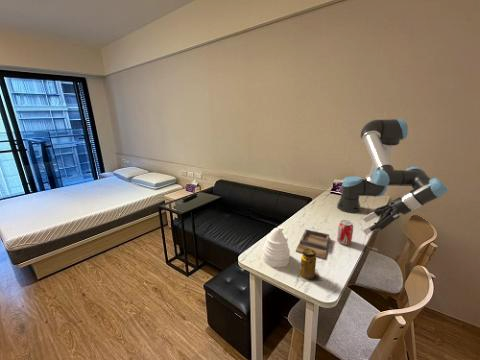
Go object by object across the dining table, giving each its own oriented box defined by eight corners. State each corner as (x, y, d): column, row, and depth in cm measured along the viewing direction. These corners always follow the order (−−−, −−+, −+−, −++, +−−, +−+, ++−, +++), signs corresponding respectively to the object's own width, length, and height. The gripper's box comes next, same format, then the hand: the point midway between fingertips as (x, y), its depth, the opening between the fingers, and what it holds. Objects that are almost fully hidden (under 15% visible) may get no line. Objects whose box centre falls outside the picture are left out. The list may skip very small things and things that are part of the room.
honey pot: (294, 257, 110) (295, 224, 104) (280, 271, 100) (282, 236, 95) (271, 247, 118) (272, 217, 112) (257, 260, 108) (257, 227, 103)
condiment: (297, 269, 101) (299, 246, 98) (316, 269, 101) (318, 246, 98) (301, 281, 94) (303, 257, 91) (322, 281, 94) (324, 257, 91)
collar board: (304, 234, 131) (304, 228, 130) (329, 239, 124) (330, 234, 123) (295, 252, 114) (295, 246, 113) (324, 260, 108) (325, 254, 107)
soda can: (334, 239, 124) (336, 219, 120) (346, 238, 125) (349, 219, 121) (340, 246, 117) (343, 226, 114) (353, 245, 118) (356, 225, 114)
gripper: (417, 221, 90) (370, 244, 102) (408, 200, 111) (369, 221, 123) (404, 207, 91) (358, 231, 103) (397, 188, 112) (359, 210, 124)
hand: (364, 225), depth 113 cm, fingers open, 13 cm apart
